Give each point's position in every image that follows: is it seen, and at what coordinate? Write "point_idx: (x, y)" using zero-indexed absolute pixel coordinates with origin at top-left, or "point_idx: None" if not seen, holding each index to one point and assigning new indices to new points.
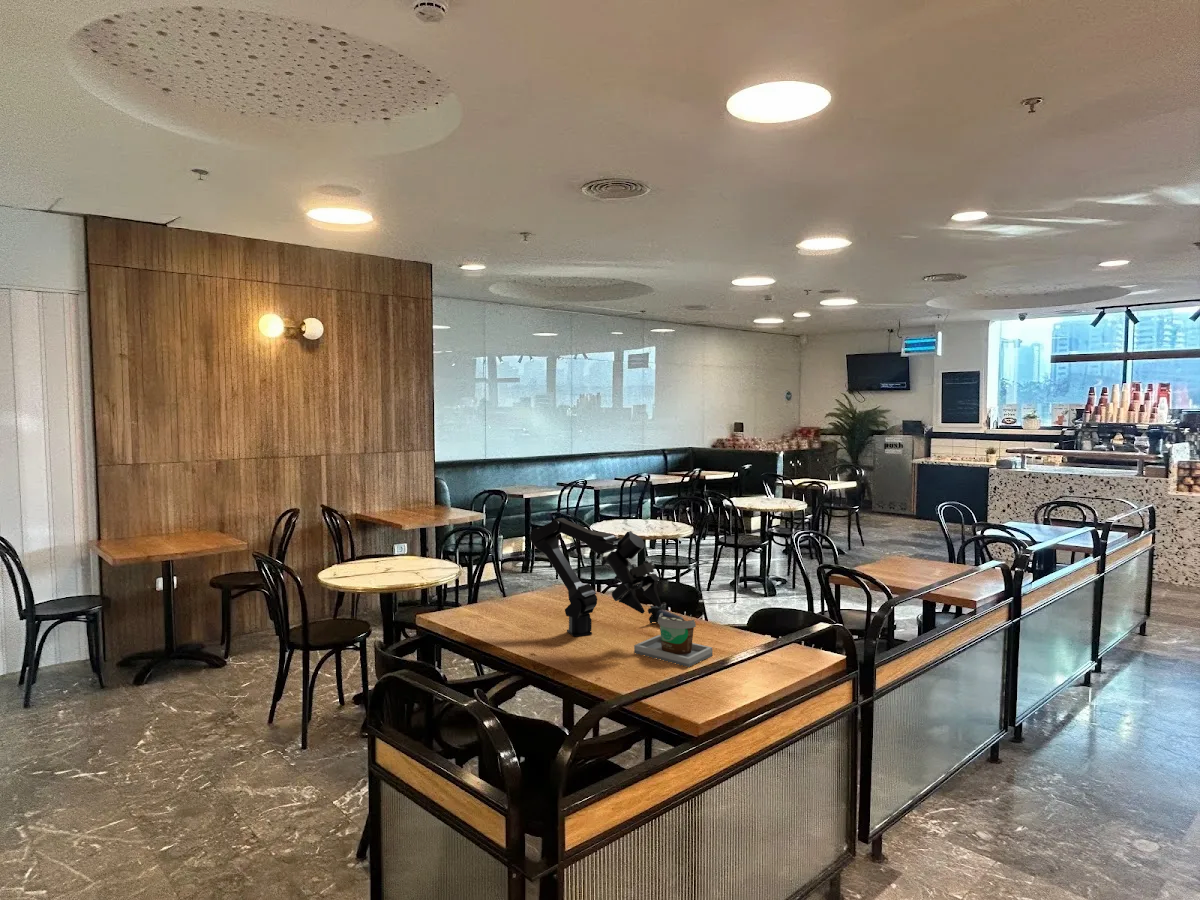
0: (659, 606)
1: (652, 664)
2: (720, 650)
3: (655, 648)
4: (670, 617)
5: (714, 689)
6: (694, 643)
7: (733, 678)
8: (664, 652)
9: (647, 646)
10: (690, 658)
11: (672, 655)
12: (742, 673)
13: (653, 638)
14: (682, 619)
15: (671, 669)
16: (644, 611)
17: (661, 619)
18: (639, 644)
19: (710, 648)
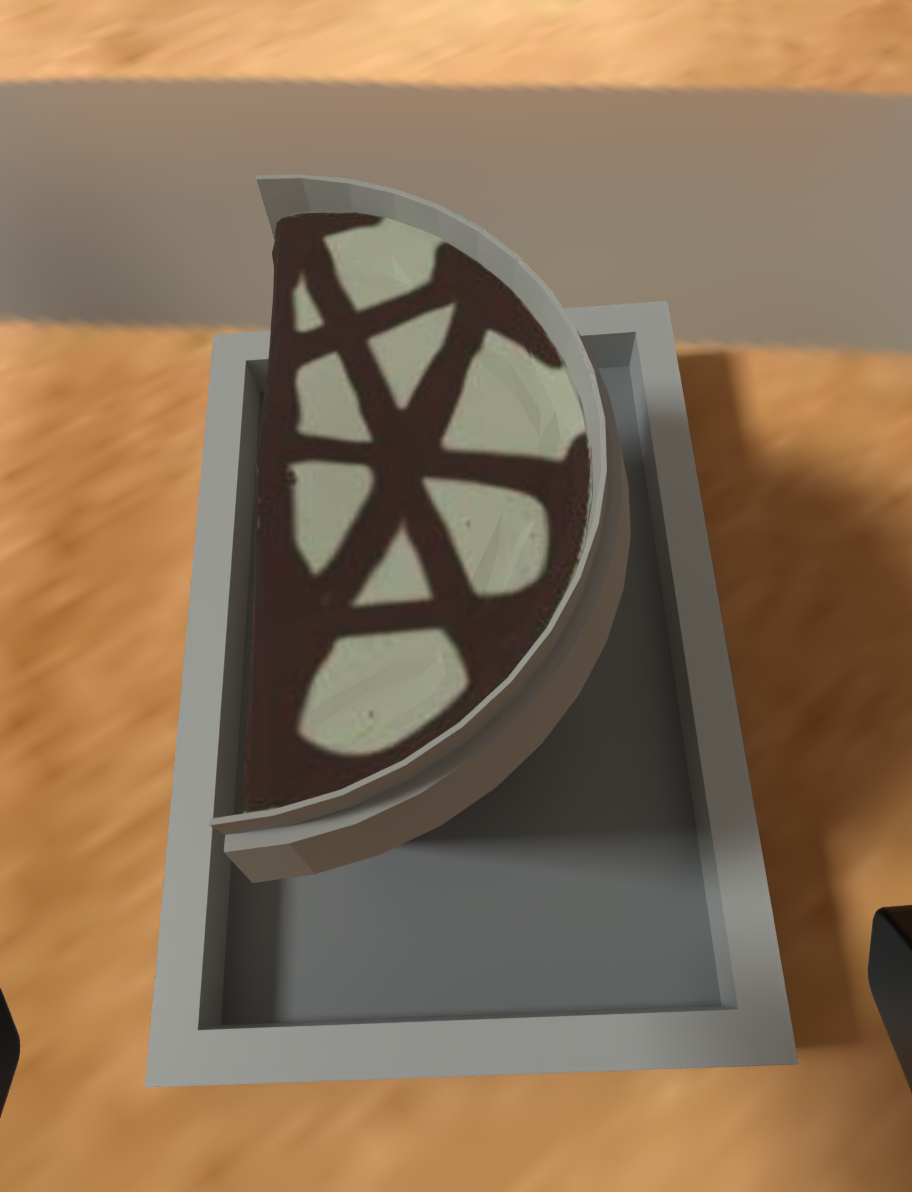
0: (9, 1027)
1: (864, 635)
2: (52, 419)
3: (515, 868)
4: (267, 614)
5: (866, 36)
6: (203, 519)
7: (588, 61)
8: (706, 569)
9: (525, 1007)
10: (636, 305)
11: (693, 472)
12: (455, 72)
13: (346, 1037)
14: (268, 381)
15: (813, 430)
16: (894, 907)
17: (579, 594)
18: (714, 1019)
19: (251, 333)
